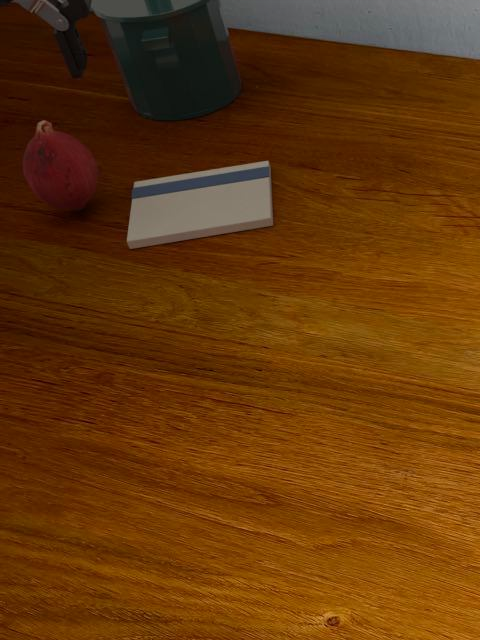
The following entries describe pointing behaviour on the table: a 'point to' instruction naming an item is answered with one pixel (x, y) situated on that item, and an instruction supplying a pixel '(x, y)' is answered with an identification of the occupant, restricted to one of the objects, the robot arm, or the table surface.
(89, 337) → the table surface
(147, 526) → the table surface
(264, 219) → the towel
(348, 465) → the table surface
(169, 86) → the pot
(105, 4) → the pot lid
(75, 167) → the onion
